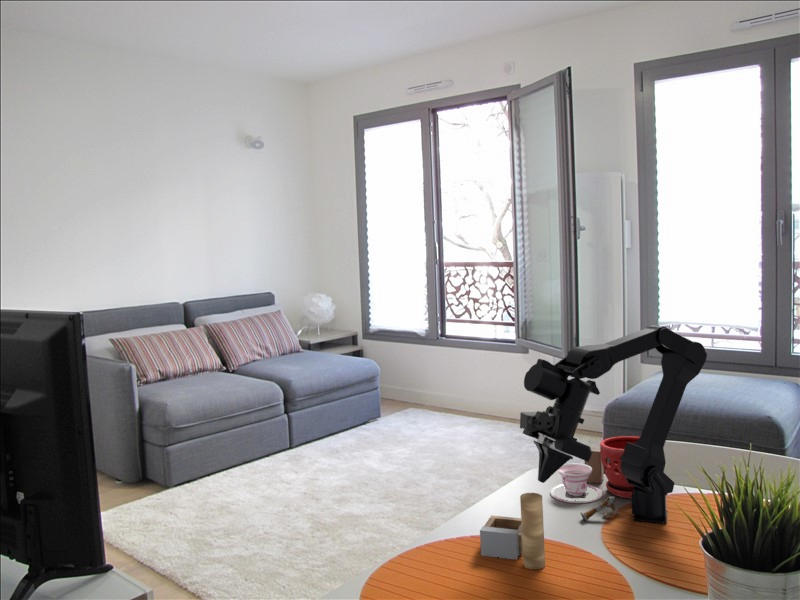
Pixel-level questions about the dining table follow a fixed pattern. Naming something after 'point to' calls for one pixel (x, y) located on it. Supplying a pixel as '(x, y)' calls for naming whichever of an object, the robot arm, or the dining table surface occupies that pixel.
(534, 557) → the dowel
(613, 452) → the plant pot
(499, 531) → the wall
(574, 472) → the teacup
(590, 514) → the brown and silver rod
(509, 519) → the socket block
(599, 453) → the wooden block
